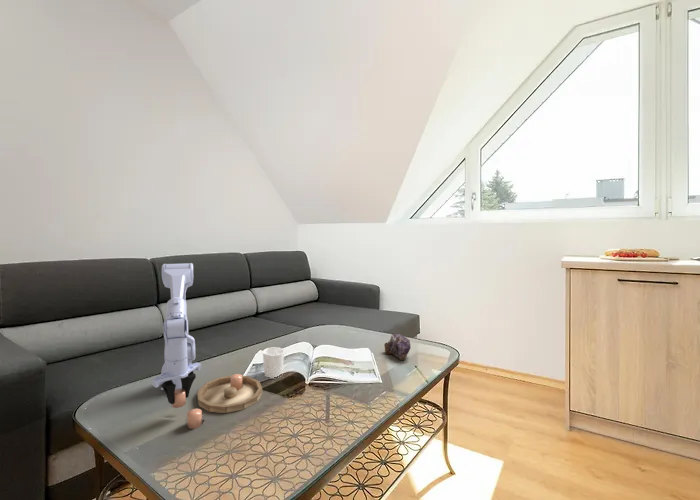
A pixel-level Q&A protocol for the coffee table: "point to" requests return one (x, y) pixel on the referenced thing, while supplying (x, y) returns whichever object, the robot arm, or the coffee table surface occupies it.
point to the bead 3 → (236, 381)
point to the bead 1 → (179, 398)
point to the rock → (398, 346)
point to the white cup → (273, 361)
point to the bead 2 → (194, 418)
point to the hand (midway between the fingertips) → (178, 399)
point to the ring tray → (220, 398)
